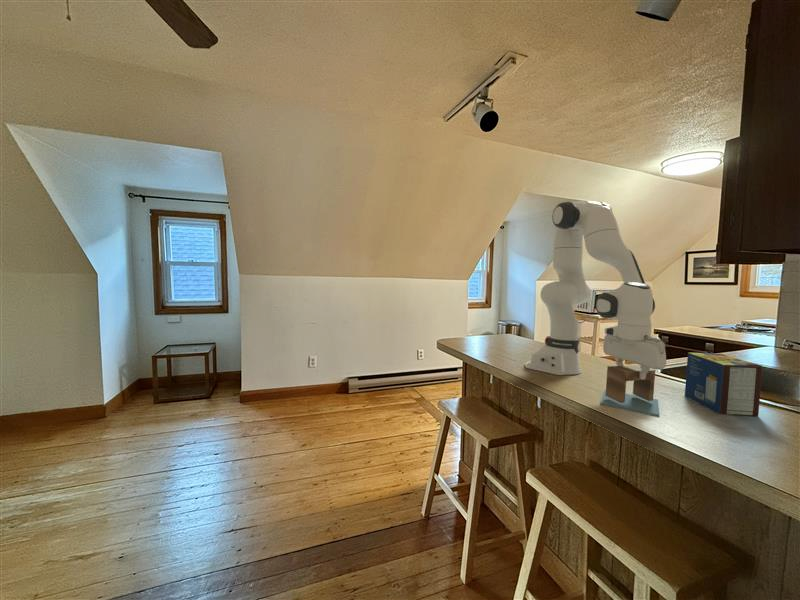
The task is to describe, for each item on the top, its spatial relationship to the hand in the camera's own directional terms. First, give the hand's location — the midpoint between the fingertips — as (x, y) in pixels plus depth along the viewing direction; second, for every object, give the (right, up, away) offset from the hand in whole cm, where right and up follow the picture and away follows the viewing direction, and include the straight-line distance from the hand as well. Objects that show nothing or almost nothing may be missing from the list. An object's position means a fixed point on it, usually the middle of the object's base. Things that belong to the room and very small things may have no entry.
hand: (630, 375), depth 107 cm
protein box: (+27, -10, -1) cm, 29 cm away
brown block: (-6, -3, -1) cm, 7 cm away
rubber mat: (0, -9, +1) cm, 9 cm away
